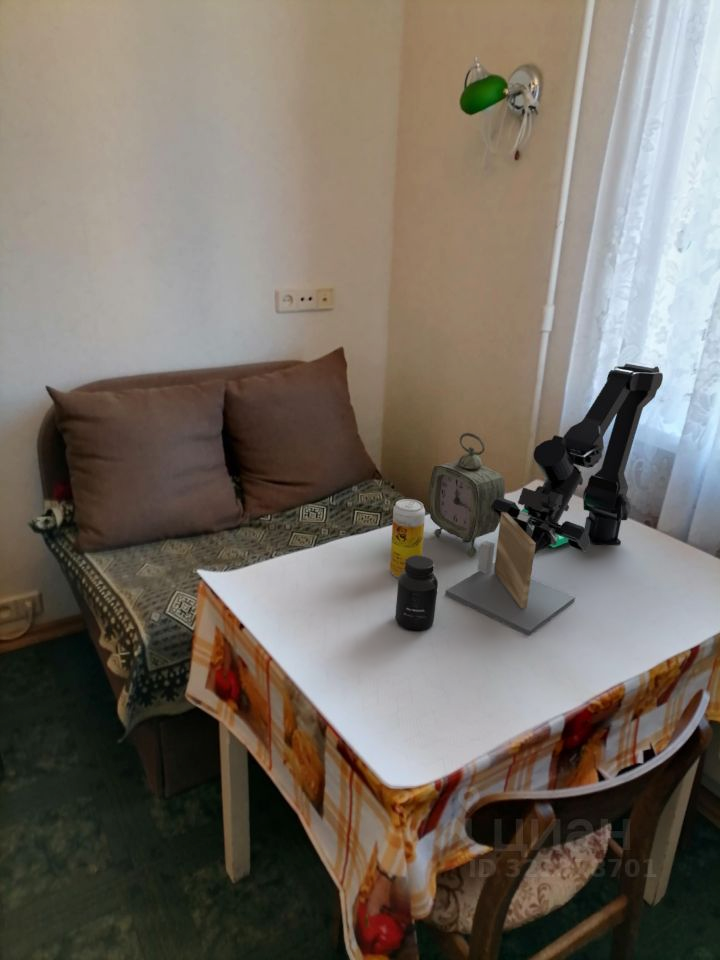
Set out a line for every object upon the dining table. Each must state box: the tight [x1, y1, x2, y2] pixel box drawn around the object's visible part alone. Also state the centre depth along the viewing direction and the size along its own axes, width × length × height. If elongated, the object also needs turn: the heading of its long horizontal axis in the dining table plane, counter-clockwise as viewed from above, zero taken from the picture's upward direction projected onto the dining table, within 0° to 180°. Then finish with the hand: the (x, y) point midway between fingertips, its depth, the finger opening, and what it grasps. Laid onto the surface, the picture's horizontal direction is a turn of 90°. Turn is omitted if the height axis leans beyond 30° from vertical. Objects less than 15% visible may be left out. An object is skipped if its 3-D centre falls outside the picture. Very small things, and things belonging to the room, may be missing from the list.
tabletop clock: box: [428, 432, 506, 556], centre depth 142 cm, size 14×9×25 cm, turn 36°
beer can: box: [389, 498, 426, 579], centre depth 130 cm, size 6×6×15 cm
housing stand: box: [445, 540, 576, 637], centre depth 124 cm, size 16×18×7 cm
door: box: [494, 512, 536, 608], centre depth 124 cm, size 1×13×13 cm, turn 11°
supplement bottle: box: [395, 555, 439, 633], centre depth 115 cm, size 7×7×12 cm
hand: (518, 562), depth 124 cm, fingers closed
